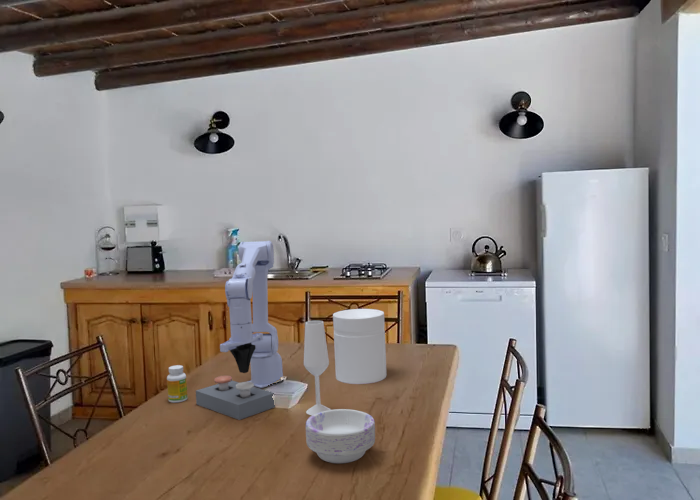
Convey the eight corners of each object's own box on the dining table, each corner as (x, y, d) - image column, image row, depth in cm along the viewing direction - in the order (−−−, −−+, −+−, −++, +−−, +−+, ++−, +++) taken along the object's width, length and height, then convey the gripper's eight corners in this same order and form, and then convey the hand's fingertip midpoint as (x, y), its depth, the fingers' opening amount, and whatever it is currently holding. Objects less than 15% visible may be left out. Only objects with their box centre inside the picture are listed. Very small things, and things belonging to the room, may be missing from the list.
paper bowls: (385, 463, 131) (384, 426, 130) (316, 475, 126) (314, 437, 126) (363, 437, 145) (362, 404, 145) (300, 447, 141) (298, 413, 140)
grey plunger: (247, 394, 171) (246, 380, 170) (258, 398, 167) (257, 383, 167) (233, 399, 167) (232, 385, 167) (243, 402, 164) (242, 388, 164)
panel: (231, 393, 182) (230, 380, 182) (275, 407, 168) (274, 392, 168) (196, 404, 173) (195, 390, 173) (239, 420, 160) (238, 405, 159)
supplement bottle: (182, 403, 175) (180, 369, 174) (165, 402, 176) (162, 369, 175) (190, 397, 180) (188, 364, 179) (174, 396, 181) (171, 364, 181)
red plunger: (226, 388, 178) (225, 374, 177) (236, 391, 174) (235, 377, 174) (211, 392, 174) (211, 378, 174) (221, 395, 171) (220, 381, 170)
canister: (327, 381, 189) (324, 317, 188) (347, 367, 204) (344, 308, 202) (376, 385, 183) (373, 319, 182) (393, 370, 198) (390, 309, 196)
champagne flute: (313, 405, 168) (309, 319, 166) (335, 408, 165) (331, 320, 163) (301, 413, 162) (296, 324, 160) (323, 416, 159) (319, 325, 157)
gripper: (248, 316, 174) (251, 363, 175) (210, 326, 162) (213, 377, 163) (267, 318, 170) (270, 366, 171) (230, 329, 158) (233, 380, 159)
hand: (243, 372), depth 167 cm, fingers closed
